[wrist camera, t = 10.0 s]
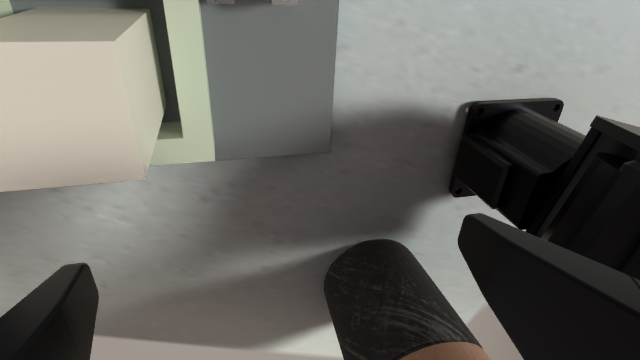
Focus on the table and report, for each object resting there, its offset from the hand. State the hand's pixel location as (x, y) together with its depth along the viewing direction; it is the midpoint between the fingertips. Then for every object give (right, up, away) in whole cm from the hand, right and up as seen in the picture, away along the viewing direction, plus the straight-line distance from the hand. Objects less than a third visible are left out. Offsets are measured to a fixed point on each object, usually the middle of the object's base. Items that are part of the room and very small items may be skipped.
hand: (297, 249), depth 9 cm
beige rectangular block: (-8, +7, +7) cm, 13 cm away
